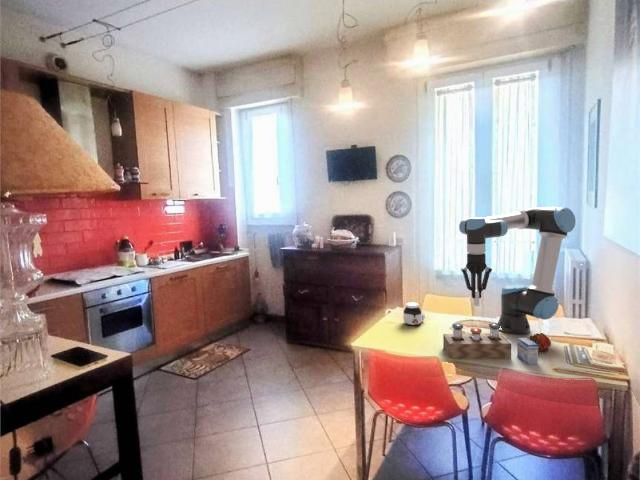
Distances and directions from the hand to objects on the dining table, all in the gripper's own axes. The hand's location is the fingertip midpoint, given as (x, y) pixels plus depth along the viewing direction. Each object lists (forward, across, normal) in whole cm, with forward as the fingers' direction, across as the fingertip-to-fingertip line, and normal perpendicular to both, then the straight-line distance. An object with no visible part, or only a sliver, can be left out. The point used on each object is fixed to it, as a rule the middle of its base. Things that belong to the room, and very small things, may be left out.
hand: (476, 305), depth 170 cm
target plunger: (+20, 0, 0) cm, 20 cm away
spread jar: (+23, +21, -41) cm, 52 cm away
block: (+23, 0, 0) cm, 23 cm away
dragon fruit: (+23, -29, -3) cm, 37 cm away
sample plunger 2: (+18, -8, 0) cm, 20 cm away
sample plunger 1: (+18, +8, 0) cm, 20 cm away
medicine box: (+23, -19, +8) cm, 30 cm away
